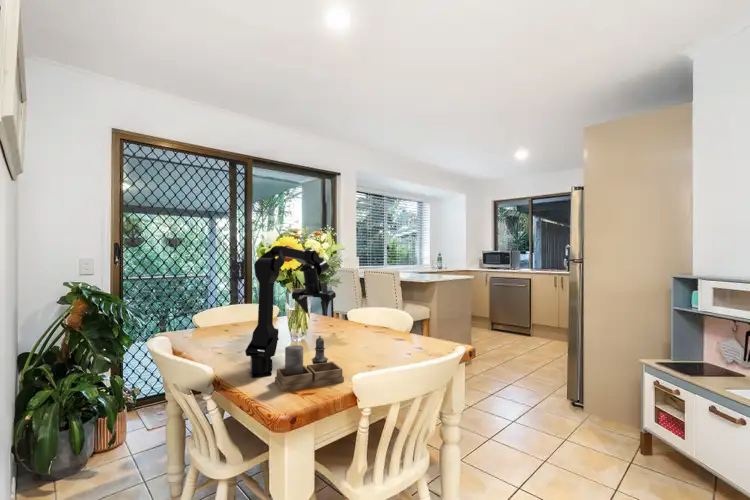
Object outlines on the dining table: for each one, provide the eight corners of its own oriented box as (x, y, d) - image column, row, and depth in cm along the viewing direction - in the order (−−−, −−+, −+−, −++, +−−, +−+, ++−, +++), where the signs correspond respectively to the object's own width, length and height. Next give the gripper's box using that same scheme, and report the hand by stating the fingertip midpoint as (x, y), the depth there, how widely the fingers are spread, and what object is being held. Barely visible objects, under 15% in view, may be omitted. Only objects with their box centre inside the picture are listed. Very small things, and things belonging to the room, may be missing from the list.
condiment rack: (281, 391, 113) (281, 353, 113) (274, 381, 122) (275, 345, 122) (344, 381, 121) (344, 346, 122) (333, 372, 130) (333, 339, 131)
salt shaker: (324, 372, 131) (325, 337, 131) (308, 371, 132) (309, 337, 132) (330, 367, 137) (330, 334, 137) (314, 366, 138) (315, 333, 138)
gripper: (340, 274, 160) (344, 308, 164) (303, 272, 168) (308, 305, 171) (326, 282, 150) (331, 318, 154) (288, 280, 158) (293, 315, 162)
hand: (316, 313), depth 160 cm, fingers open, 9 cm apart
